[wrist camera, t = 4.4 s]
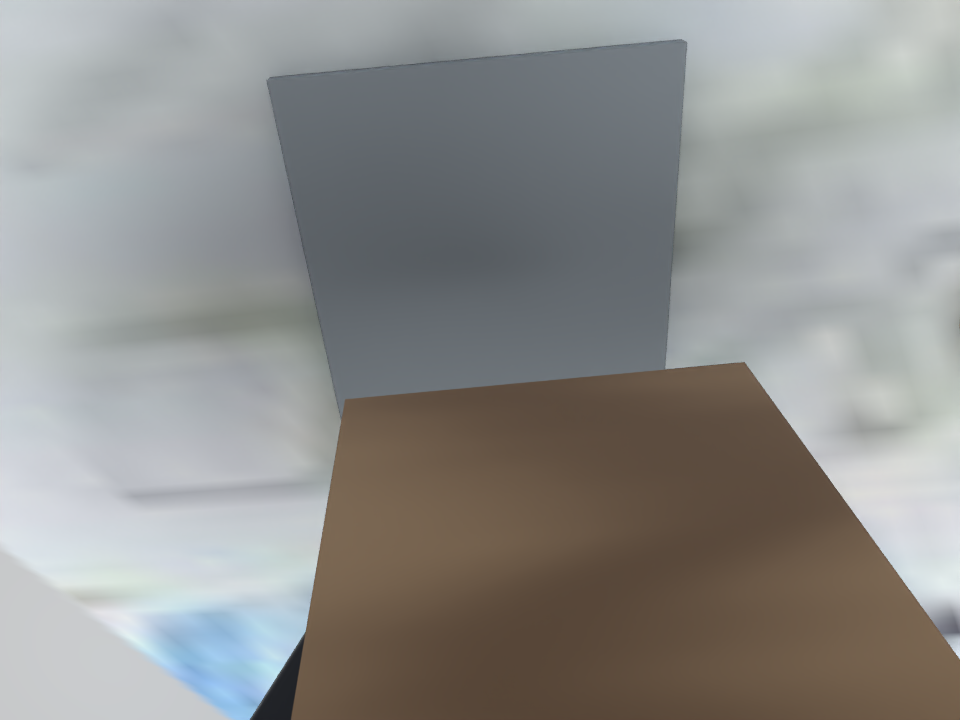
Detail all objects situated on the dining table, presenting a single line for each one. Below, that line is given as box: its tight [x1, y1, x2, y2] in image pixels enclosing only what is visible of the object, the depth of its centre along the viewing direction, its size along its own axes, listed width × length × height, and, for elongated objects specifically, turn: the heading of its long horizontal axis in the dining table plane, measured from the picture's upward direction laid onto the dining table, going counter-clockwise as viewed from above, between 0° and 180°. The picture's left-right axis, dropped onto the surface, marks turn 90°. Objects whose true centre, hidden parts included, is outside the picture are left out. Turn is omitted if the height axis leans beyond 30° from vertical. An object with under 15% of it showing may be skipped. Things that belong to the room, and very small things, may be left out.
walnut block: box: [291, 362, 960, 720], centre depth 7 cm, size 4×4×5 cm
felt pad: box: [267, 40, 687, 420], centre depth 18 cm, size 9×9×1 cm
